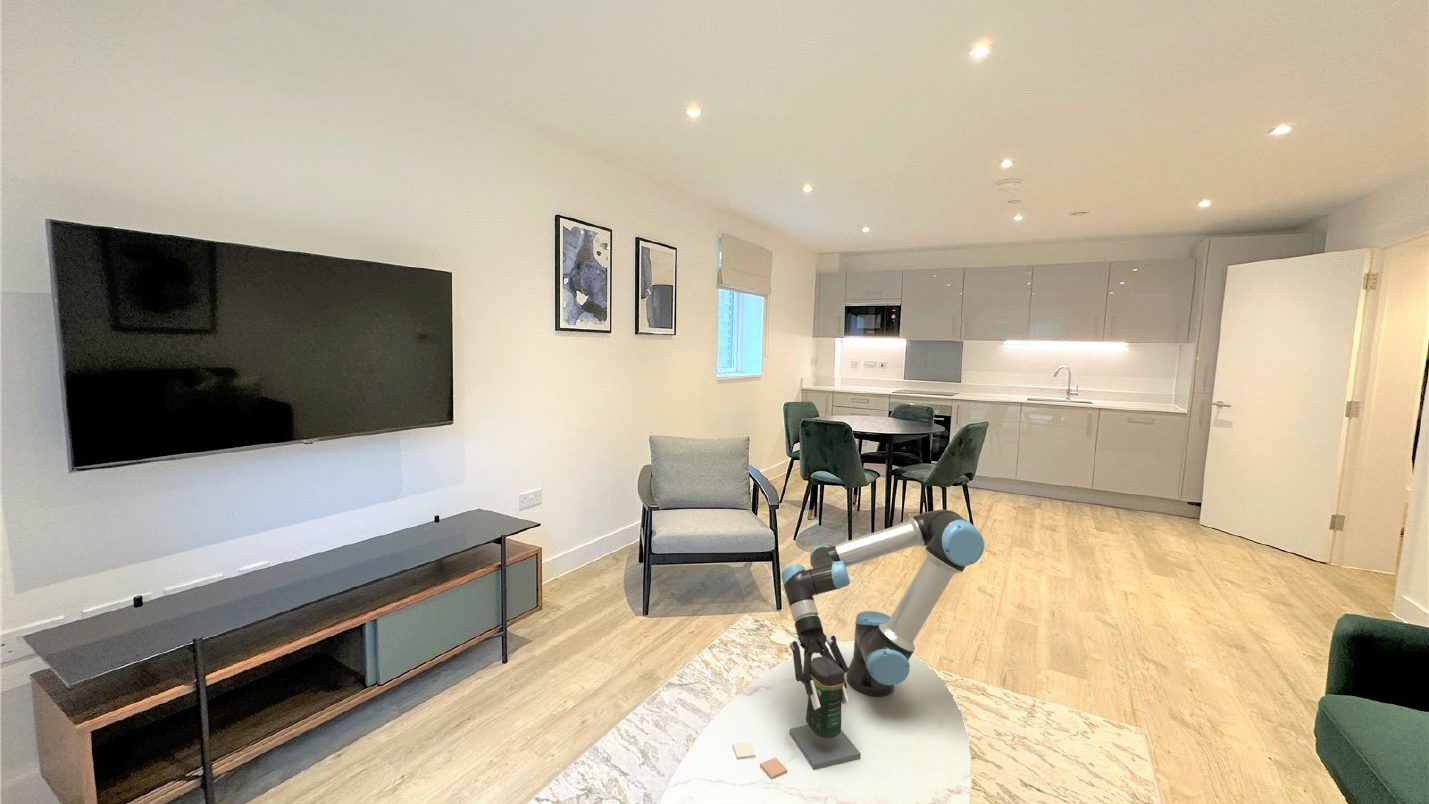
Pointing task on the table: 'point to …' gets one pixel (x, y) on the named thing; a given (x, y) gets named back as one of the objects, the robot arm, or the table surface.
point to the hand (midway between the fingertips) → (831, 705)
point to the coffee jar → (826, 697)
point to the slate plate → (824, 747)
